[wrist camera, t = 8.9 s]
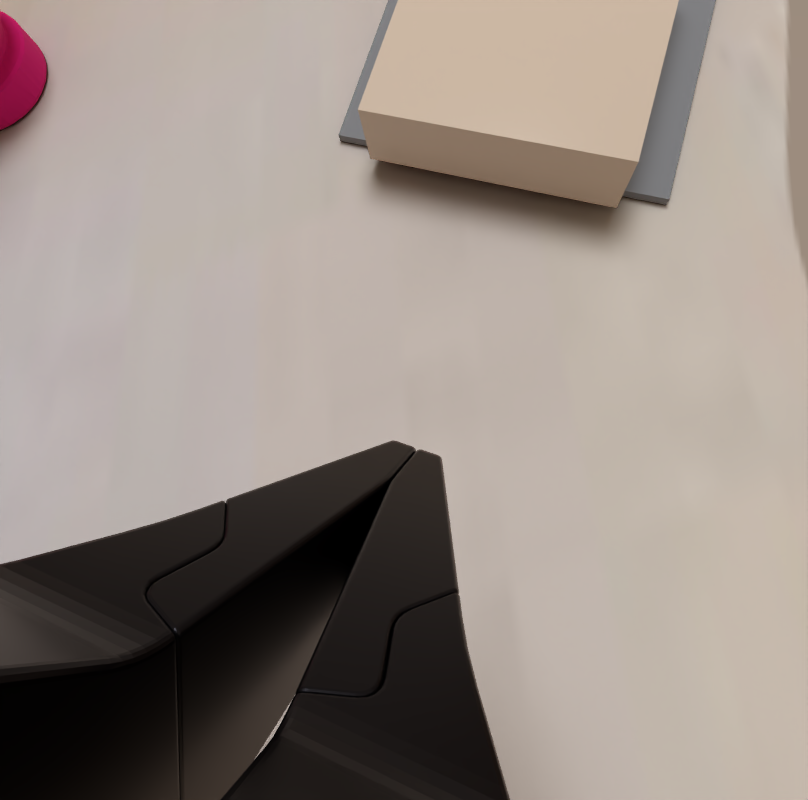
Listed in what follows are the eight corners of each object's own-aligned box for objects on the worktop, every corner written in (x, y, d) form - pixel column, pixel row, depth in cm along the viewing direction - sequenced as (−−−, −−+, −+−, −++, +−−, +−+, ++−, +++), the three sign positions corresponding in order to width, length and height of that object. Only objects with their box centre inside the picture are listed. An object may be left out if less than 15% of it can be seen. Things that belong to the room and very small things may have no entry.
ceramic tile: (638, 161, 20) (696, -73, 22) (357, 109, 22) (435, -102, 24) (615, 211, 23) (667, 2, 25) (371, 162, 25) (438, -29, 27)
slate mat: (665, 204, 23) (669, 199, 23) (340, 140, 26) (338, 134, 25) (729, -69, 26) (733, -78, 26) (429, -103, 29) (429, -111, 28)
